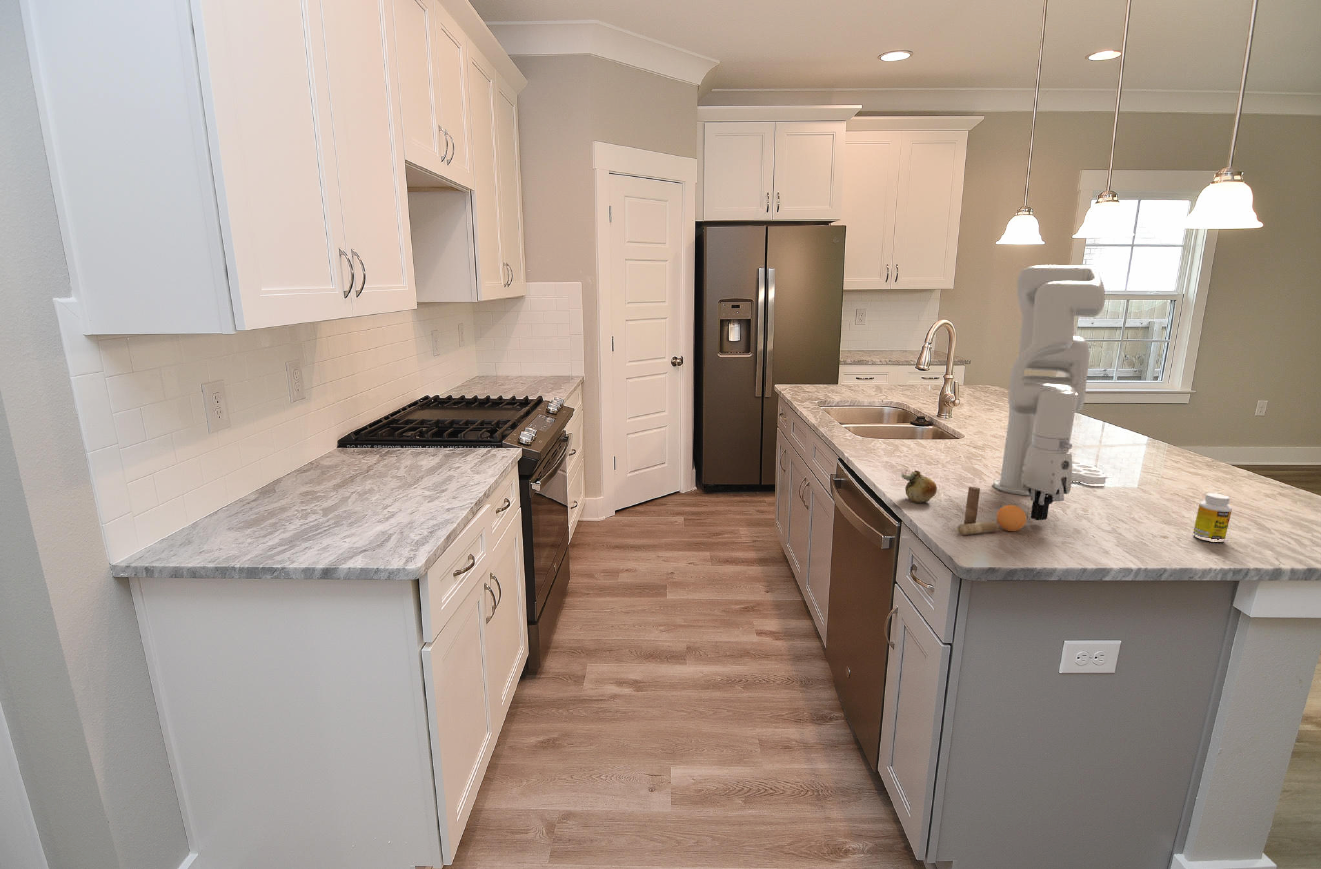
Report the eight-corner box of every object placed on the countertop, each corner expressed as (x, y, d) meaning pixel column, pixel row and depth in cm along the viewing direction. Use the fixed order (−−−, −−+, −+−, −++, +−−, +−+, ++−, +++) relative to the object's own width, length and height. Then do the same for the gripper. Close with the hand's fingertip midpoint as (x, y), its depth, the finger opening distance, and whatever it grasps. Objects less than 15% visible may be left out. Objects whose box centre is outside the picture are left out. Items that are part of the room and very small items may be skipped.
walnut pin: (970, 522, 153) (975, 486, 151) (977, 526, 151) (982, 489, 149) (961, 523, 152) (966, 487, 150) (968, 527, 150) (973, 490, 148)
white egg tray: (1036, 469, 201) (1087, 471, 199) (1062, 486, 184) (1118, 489, 182) (1038, 458, 200) (1089, 461, 198) (1063, 475, 183) (1120, 478, 181)
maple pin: (995, 519, 147) (962, 523, 145) (999, 529, 146) (966, 533, 144) (988, 523, 149) (956, 526, 147) (992, 533, 148) (959, 536, 146)
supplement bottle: (1211, 544, 142) (1221, 500, 139) (1186, 535, 147) (1195, 492, 145) (1231, 542, 143) (1241, 498, 141) (1205, 533, 148) (1214, 491, 146)
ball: (987, 513, 149) (994, 527, 152) (1009, 525, 143) (1016, 540, 147) (1006, 495, 149) (1012, 510, 152) (1028, 507, 144) (1035, 522, 147)
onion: (916, 507, 163) (919, 477, 161) (896, 497, 171) (899, 468, 169) (941, 505, 165) (945, 475, 163) (921, 495, 172) (924, 466, 171)
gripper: (1092, 450, 142) (1078, 528, 146) (1037, 435, 156) (1026, 507, 160) (1064, 452, 140) (1051, 531, 144) (1011, 436, 154) (1001, 509, 158)
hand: (1038, 518), depth 152 cm, fingers closed
